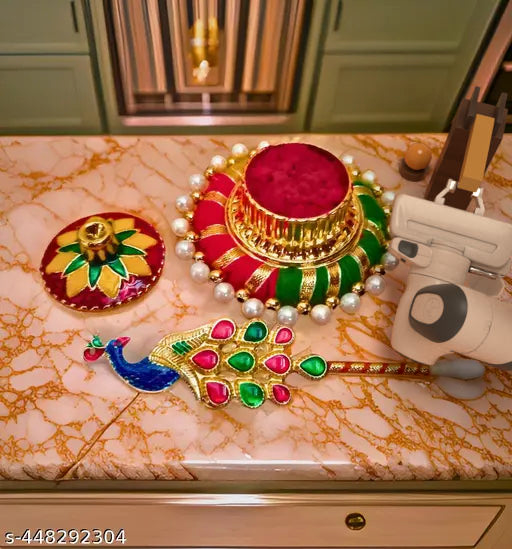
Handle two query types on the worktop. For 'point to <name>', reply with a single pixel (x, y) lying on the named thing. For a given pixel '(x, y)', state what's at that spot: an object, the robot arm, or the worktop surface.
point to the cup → (485, 285)
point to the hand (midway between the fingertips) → (465, 183)
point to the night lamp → (416, 162)
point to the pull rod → (476, 153)
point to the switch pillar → (464, 148)
